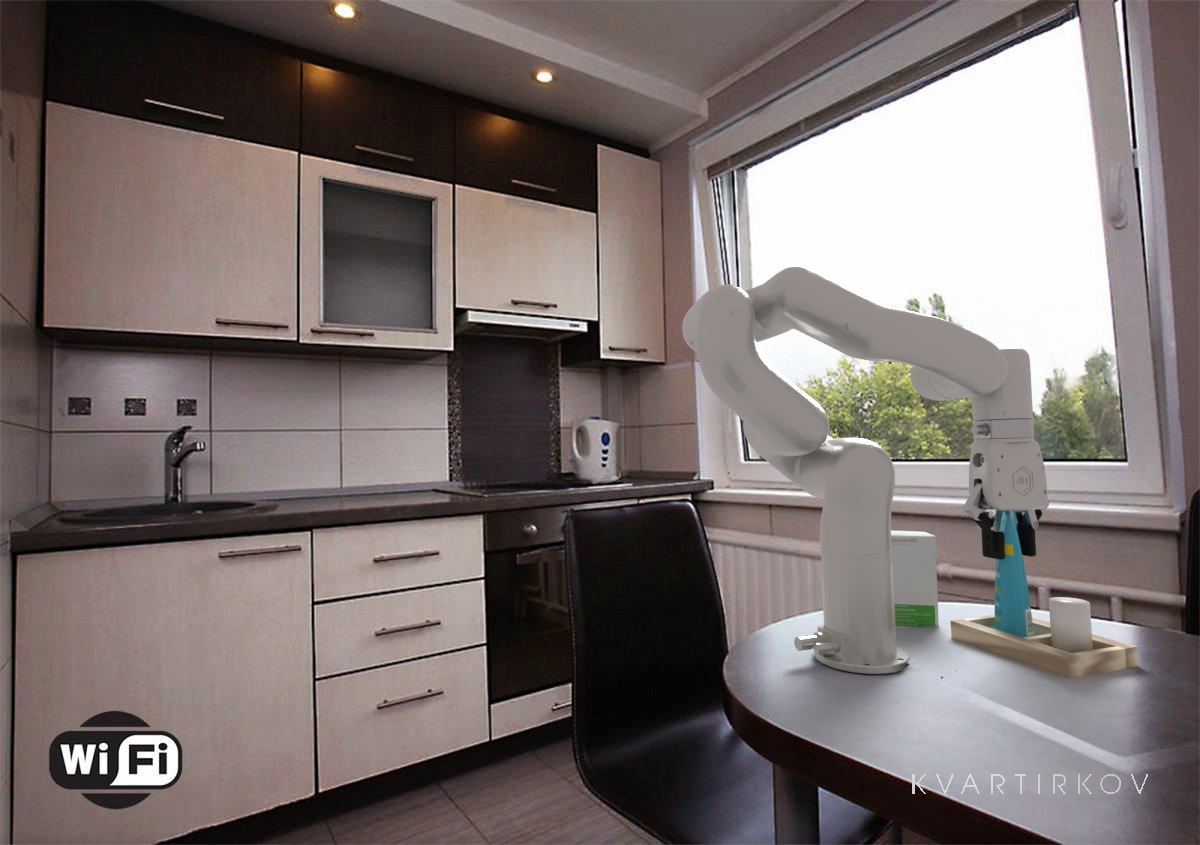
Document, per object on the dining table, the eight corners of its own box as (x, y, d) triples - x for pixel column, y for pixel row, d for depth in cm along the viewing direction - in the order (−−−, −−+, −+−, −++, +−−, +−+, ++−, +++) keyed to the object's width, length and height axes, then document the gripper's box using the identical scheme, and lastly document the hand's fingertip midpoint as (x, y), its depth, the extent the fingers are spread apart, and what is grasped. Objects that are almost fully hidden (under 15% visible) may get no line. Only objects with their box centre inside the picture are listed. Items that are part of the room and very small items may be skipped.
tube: (989, 632, 96) (983, 506, 97) (1026, 634, 95) (1019, 506, 95) (1002, 647, 89) (995, 511, 90) (1042, 650, 88) (1034, 511, 88)
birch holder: (1068, 686, 78) (1066, 657, 78) (951, 643, 96) (950, 620, 96) (1139, 674, 82) (1137, 646, 82) (1013, 635, 99) (1012, 612, 99)
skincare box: (885, 630, 103) (881, 535, 104) (877, 619, 110) (873, 529, 110) (941, 632, 101) (936, 535, 102) (930, 621, 108) (925, 529, 108)
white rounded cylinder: (1076, 669, 81) (1072, 606, 81) (1044, 658, 85) (1040, 599, 86) (1102, 665, 82) (1098, 603, 83) (1069, 654, 87) (1065, 595, 87)
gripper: (978, 433, 87) (984, 565, 87) (1072, 430, 92) (1079, 556, 91) (935, 434, 94) (941, 556, 94) (1024, 432, 99) (1030, 548, 98)
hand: (1009, 555), depth 92 cm, fingers closed on tube, 5 cm apart
